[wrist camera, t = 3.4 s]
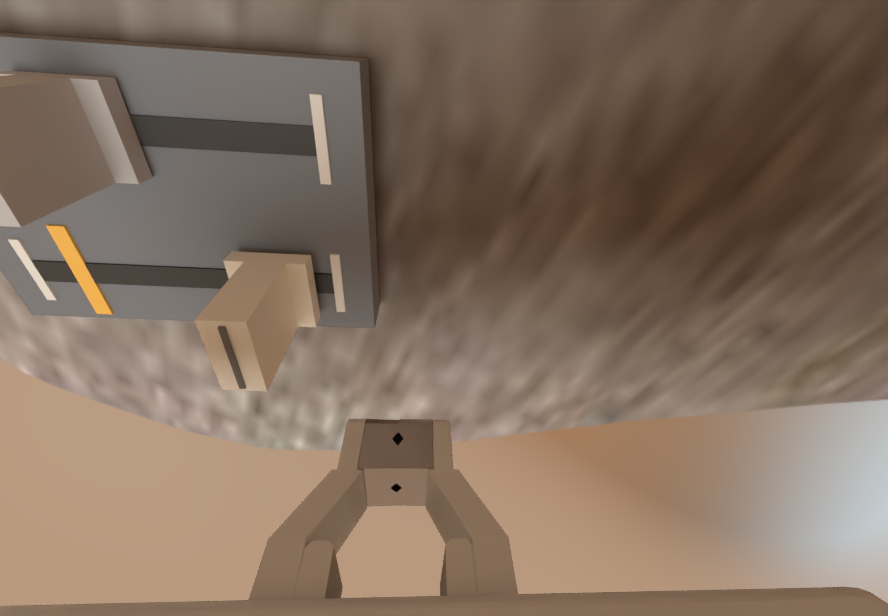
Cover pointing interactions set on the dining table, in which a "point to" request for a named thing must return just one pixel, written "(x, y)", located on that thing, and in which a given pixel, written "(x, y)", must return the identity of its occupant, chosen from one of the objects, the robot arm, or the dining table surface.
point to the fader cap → (257, 316)
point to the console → (181, 174)
